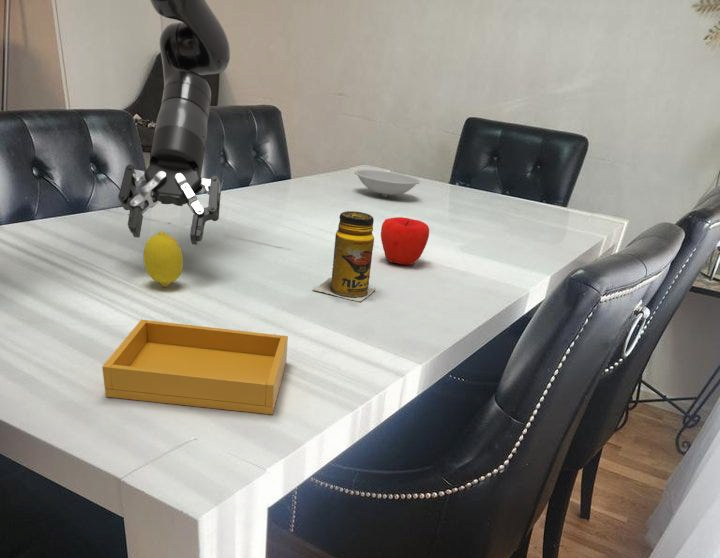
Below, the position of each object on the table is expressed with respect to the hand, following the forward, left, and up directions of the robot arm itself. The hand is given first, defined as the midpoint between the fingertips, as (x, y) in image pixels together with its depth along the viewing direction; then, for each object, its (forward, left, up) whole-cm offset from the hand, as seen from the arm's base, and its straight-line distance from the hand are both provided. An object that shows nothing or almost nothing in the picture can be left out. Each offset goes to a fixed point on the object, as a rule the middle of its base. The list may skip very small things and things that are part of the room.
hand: (164, 238), depth 95 cm
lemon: (0, -1, -7) cm, 7 cm away
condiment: (+27, +7, -7) cm, 29 cm away
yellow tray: (+12, -30, -7) cm, 33 cm away
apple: (+37, +27, -7) cm, 46 cm away
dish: (+35, +89, -7) cm, 96 cm away
